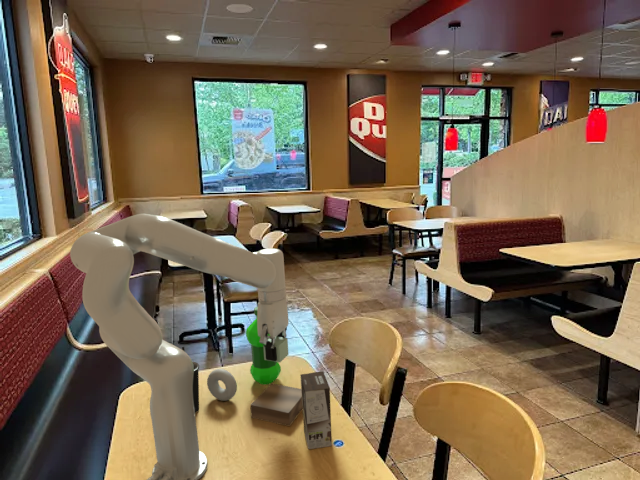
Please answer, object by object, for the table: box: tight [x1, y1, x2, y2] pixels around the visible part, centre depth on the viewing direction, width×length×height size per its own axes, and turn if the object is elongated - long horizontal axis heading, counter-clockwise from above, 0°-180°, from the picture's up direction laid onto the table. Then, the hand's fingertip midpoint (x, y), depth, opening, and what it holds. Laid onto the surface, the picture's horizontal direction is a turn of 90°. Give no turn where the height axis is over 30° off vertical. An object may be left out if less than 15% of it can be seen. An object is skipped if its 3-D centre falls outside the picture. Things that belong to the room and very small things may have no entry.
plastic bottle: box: [245, 306, 282, 386], centre depth 142 cm, size 10×10×25 cm
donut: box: [206, 368, 238, 402], centre depth 134 cm, size 10×4×10 cm, turn 68°
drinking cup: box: [181, 346, 200, 414], centre depth 128 cm, size 8×8×20 cm
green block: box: [263, 337, 289, 363], centre depth 124 cm, size 5×5×5 cm
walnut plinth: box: [250, 383, 303, 427], centre depth 128 cm, size 12×12×4 cm
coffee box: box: [299, 370, 333, 450], centre depth 114 cm, size 9×6×16 cm
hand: (276, 354), depth 125 cm, fingers closed on green block, 5 cm apart
